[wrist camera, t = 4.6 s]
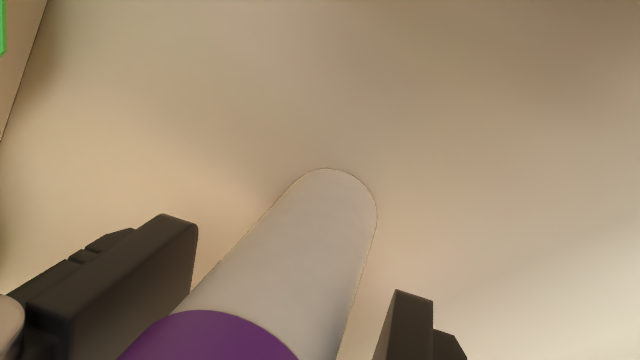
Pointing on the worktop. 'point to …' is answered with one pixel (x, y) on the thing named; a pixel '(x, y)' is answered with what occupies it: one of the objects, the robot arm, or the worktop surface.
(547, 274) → the worktop surface
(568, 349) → the worktop surface
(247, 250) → the glue stick
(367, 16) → the worktop surface
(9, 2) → the sandwich
